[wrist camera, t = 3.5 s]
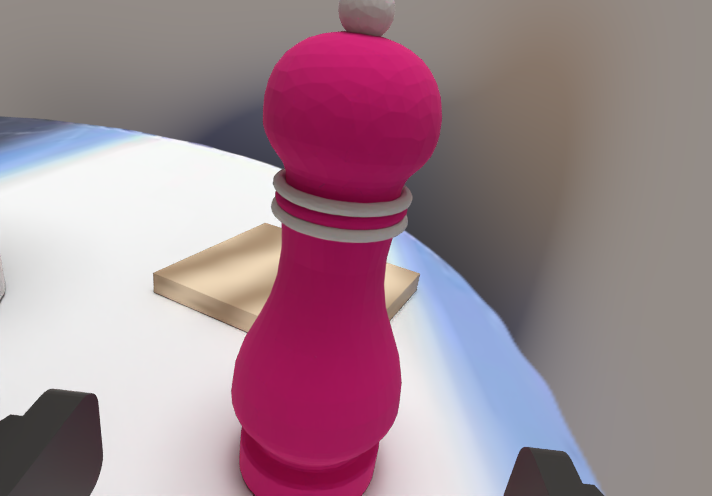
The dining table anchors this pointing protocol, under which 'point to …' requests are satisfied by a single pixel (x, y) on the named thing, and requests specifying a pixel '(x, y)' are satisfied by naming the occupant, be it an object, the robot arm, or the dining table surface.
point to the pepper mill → (333, 256)
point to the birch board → (249, 278)
